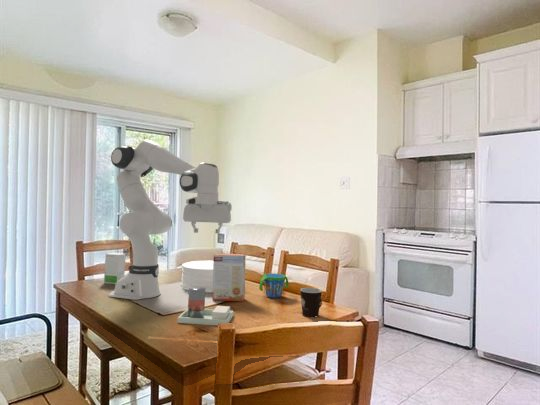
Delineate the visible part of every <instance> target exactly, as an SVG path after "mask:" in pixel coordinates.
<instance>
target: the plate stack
mask: <svg viewBox="0 0 540 405" xmlns="http://www.w3.org/2000/svg"><path fill="white" fill-rule="evenodd" d="M213 262H214V260H191V261H188V262H187V261H186V262H184V263H182V264H181V273H182V274H181V285H180V286H181V288H182V289H183V290H185V291H188V292H189V288H192V287H202V288H205V293H213Z"/></svg>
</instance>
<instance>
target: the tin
mask: <svg viewBox="0 0 540 405" xmlns="http://www.w3.org/2000/svg"><path fill="white" fill-rule="evenodd" d="M187 299H188V302H187V309H188V318H204V309H206V308H205V307H206V306H205V305H206V303H205V302H206V292H205V288H202V287H192V288H189V291H188V298H187Z"/></svg>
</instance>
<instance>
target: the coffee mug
mask: <svg viewBox="0 0 540 405" xmlns="http://www.w3.org/2000/svg"><path fill="white" fill-rule="evenodd" d="M322 293H323V290H322V289H320V288H315V287H304V288H303V287H302V288H300V300H301V302H300V303H301V314H302V316H303V317H306V318H311V317H313V318H316V317H315V316H318V317H319V313H320V308H321V307H322V305H323V302H322Z"/></svg>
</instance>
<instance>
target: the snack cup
mask: <svg viewBox="0 0 540 405" xmlns="http://www.w3.org/2000/svg"><path fill="white" fill-rule="evenodd" d="M263 283H264V284H263ZM263 285H264V286H263ZM264 288H265V295H266V297H267V298H271V299H276V298H282V296H283V290H284V288H285V289H288V288H289V279H288V277H287V276H286V275H285V274H283V273H265V274H263V277H262V278H261V279H260V281H259V290H260V292H263V291H264V290H263V289H264Z"/></svg>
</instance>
